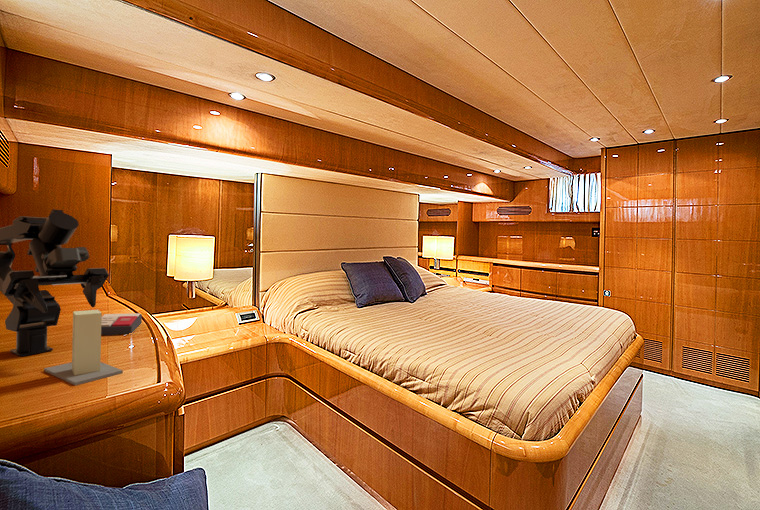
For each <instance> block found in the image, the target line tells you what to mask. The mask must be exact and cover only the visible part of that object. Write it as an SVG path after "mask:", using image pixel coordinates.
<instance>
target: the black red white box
mask: <svg viewBox="0 0 760 510" xmlns="http://www.w3.org/2000/svg"><path fill="white" fill-rule="evenodd" d="M142 317H143V315H142V313H134V312H133V313H105V314H103V315H102V319H101V335H105V336H118V335H117V334H129V333H132V332H133V331H134V330H135V329H136V328H137V327H138V328H139V327H140V326H141V325H142V324H141V323H143V322H142V321H143V320H142V319H143V318H142ZM140 324H141V325H140ZM139 325H140V326H139ZM138 328H137V329H138ZM137 329H136V330H137ZM136 330H135V331H136ZM135 331H134V332H135ZM134 332H133V333H134Z"/></svg>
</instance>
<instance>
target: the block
mask: <svg viewBox="0 0 760 510" xmlns="http://www.w3.org/2000/svg"><path fill="white" fill-rule="evenodd" d="M102 316H103V315H102V312H101V311H100V309H88V310H75V311H72V341H71V342H72V343H71V345H72V347H71V350H72V351H71V353H72V354H71V355H72V356H71V362H72V371H73V373H74V375H79V374H85V373H91V372H97V371H100V362H101V356H102V355H101V354H102V352H101V351H102V349H101V348H102V336H101V319H102Z"/></svg>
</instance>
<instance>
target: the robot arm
mask: <svg viewBox="0 0 760 510" xmlns="http://www.w3.org/2000/svg"><path fill="white" fill-rule="evenodd" d="M78 227H79V221H78V219H76V218H75V217H73V216H71V215H70V214H67V213H65V212H64V211H63V210H62V209H54V208H53V209H52V210H51V211H50V213H49V215H48V216H47V217H43V216H42V217H39V216H23V215H22V216H21V215H20V216H18V217H17V218H15V219H13V220H12V224H9V225H6V226H4V227H3V226H2V227H0V246H7V250H6V251H0V292H1V293H2V295H4V297H6V298H7V299H8V301H9V302H10V303H11V304H12V305H13V306H12V309H11V310H10V312H9V314H8V315H7V317H6V319H5V320H4V324H5V325H4V326H5V328H6V329H5V330H8V331H11V332H15V333H16V343H15V344H16V345H15V348H12V349H10V350H9V352H10V353H13V354H14V355H16V356H18V355H19V357H24V356H29V355H30V354H31V355H35V354H40V353H46V352H51V351H54V348H53V347H50V346H48V327H54V326H57V325H58V322H59V319H60V313H61V311H62V309H61V306H60V303H59V302H58V301H57V300H56V297H55V296H53V295H52V294H51V293H50V292H49V290H46V289H41V290H40V286H50V285H51V286H63V285H77V284H79V285H80V286H81V288H82V289H83V290H82V294H83V295H84V297H85V299H86V300H87V301H86V302H87V303H88V304H89V306H91V308H95V307H96V303H97V302H96V301H97V291H98V289H101V288H102V287H103V285H104V284H105V283H106V280H107V279H108V277H109V276H110V275H109V272H108V270H107V269H106V268H105V267H91V268H90V267H89V268H86V269H85V270H84V271H85V272H84V273H83V274H74V272H76V271H77V269H78V266H77V265H78V264H79V263H81V262H86V261H87V260H88V259H90V254H89V250H88V249H87V247H85V246H77V247H62V246H63V245H66V244H68V243H69V241H70V239H71V238H72V237H73V235H74V234H75V232H76V230H77V228H78ZM28 240H31V241H30V242H29V243H28V247H29V248H28V249H27V255H28V256H32V257H33V260H34V263H35V264H36V266H35V267H34V270H35V272H36V273H39V275H35V272H34V270H31V269H30V270H14V269H12V265H13V263H14V260H15V257H16V253H15V251H14V249H13V247H12V245H13V243H19V242H23V241H28Z"/></svg>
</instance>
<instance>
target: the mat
mask: <svg viewBox="0 0 760 510" xmlns="http://www.w3.org/2000/svg"><path fill="white" fill-rule="evenodd" d="M43 372H46V373H47V374H50V375H52V376H54V377H56V378H58V379H60V380H62V381H64V382H67V383H69V384H71V385H72V386H73V385H74V386H79V385H82V384H86V383H91V382H93V381H97V380H101V379H105V378H109V377H112V376H116V375H120V374H123V372H124V371H123V369H120V368H117V367H115V366H113V365H110V364H108V363H105V362H102V361H100V371H97V372H91V373H85V374H79V375H74V373H73V371H72V361H71V362H66V363H61V364H59V365H53V366H49V367H48V366H47V367H43Z"/></svg>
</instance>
